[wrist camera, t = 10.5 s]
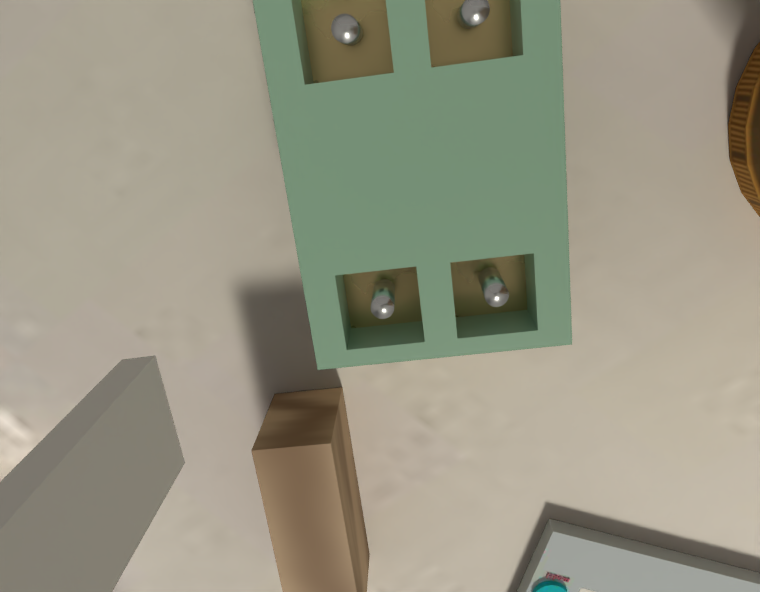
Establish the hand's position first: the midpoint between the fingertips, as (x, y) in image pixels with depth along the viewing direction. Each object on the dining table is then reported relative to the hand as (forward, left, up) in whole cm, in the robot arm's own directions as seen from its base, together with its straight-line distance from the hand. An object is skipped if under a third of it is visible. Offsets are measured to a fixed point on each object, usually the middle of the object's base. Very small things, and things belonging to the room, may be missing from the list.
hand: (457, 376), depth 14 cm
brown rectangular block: (-8, -16, -21) cm, 28 cm away
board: (0, +3, -15) cm, 16 cm away
